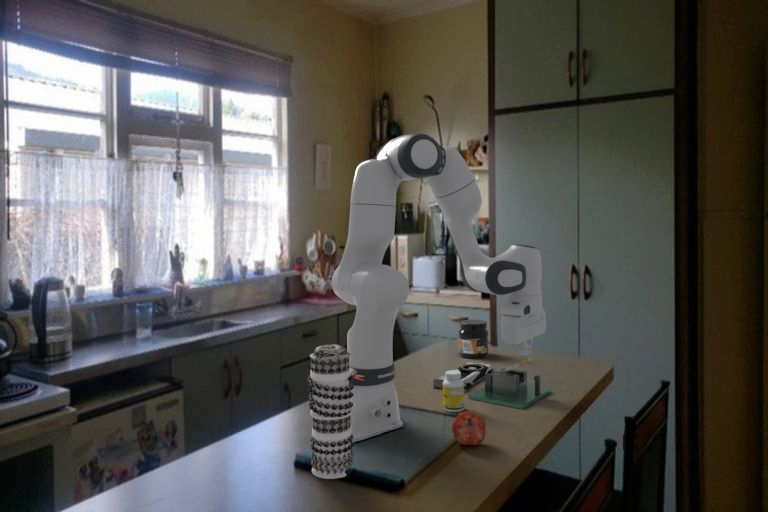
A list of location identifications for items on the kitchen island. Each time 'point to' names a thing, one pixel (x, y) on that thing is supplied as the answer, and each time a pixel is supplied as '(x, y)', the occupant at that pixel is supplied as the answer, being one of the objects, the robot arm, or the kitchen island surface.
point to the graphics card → (468, 374)
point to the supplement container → (473, 339)
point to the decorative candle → (331, 411)
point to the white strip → (515, 365)
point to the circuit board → (510, 389)
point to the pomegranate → (469, 428)
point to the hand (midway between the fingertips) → (525, 355)
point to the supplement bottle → (453, 391)
